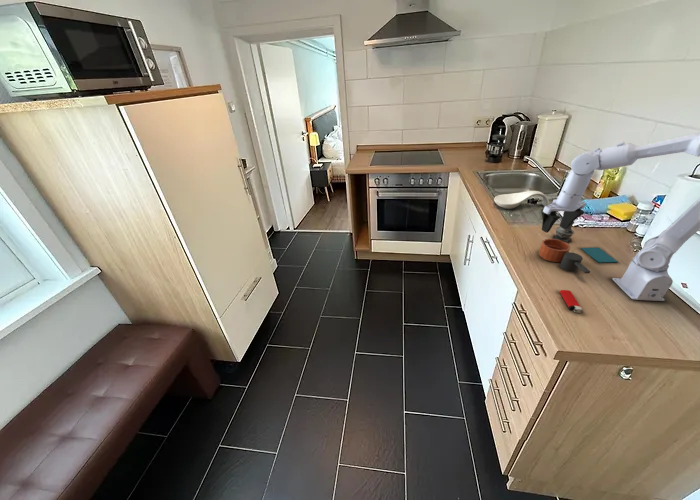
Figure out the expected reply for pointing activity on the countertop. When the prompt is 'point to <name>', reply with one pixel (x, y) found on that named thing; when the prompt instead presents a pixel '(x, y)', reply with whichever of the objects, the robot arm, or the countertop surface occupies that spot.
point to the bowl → (553, 250)
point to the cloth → (599, 255)
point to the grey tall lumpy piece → (564, 233)
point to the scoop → (573, 263)
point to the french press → (496, 158)
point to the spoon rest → (517, 199)
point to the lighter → (571, 301)
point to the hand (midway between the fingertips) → (553, 229)
